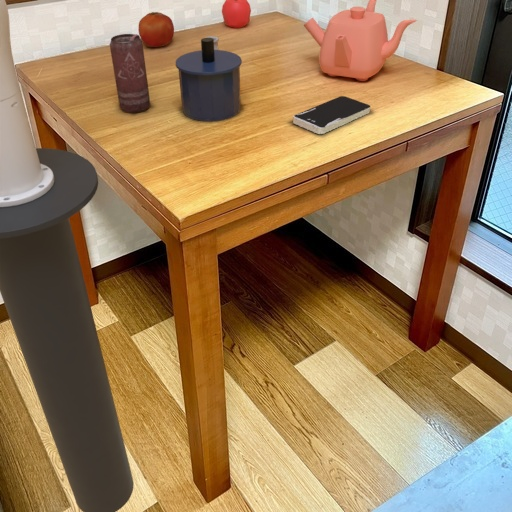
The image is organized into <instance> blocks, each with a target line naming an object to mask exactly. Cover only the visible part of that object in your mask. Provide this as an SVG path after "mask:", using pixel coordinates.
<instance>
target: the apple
mask: <svg viewBox="0 0 512 512" xmlns="http://www.w3.org/2000/svg"><path fill="white" fill-rule="evenodd" d="M251 12H252V8H251V4H250V3H249V1H248V0H225V1H224V2H223V3H222V7H221V14H222V19H223V22H224V24H225V25H227V26H228V27H230V28H232V29H233V28H234V29H241V28H244V27H245V26H246V25H248V23H250V19H251Z"/></svg>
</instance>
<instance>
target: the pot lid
mask: <svg viewBox="0 0 512 512" xmlns="http://www.w3.org/2000/svg"><path fill="white" fill-rule="evenodd" d="M200 47H201V50H194V51H190V52H187V53H183V54H181V55H180V56H178V57H177V59H176V60H175V63H174V64H175V67H176V69H177V70H178V69H179V70H180V71H182V72H185V73H189V74H194V75H217V74H223V73H227V72H231V71H233V70H235V69H237V68H238V67H240V68H241V66H242V62H243V60H242V58H241V56H240V55H238V54H237V53H235V52H232V51H228V50H221V49H218V50H214V39H213V38H205V37H202V38H201V39H200ZM179 70H178V71H179Z"/></svg>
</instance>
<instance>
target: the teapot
mask: <svg viewBox="0 0 512 512" xmlns="http://www.w3.org/2000/svg"><path fill="white" fill-rule="evenodd" d="M376 3H377V0H369V1H368V3H367V5H366V7H363V6H352V7H350V8H349V9H344V10H341V11H339V12H337V13H335V14H334V15H333V16H331V18H330V19H329V21H328V23H327V26H326V29H325V31H324V30H323V29H322V28H321V26H320V25H319V24H318V22H317V21H316V19H315V18H314V17H311V18H310V19H309V20H308V21H307V22H305V23H304V24H303V28H305V30H306V31H307V32H308V33H309V34H310V36H311V37H312V38H313V39H314V41H315V42H316V43H317V44H318V46H319V47H320V50H319V57H318V61H319V66H320V69H321V71H322V72H323V73H325V74H327V75H328V76H329V77H345V78H352V79H353V78H354V79H355V80H357V81H359V82H366V81H368V79H369V78H371V77H372V76H375V75H376V74H378V73H379V72H380V71H381V69H383V66H384V65H385V63H386V61H387V59H389V58H391V57H392V56H393V55H394V54H395V53H396V52H397V50H398V48H399V46H400V43H401V40H402V37H403V35H404V32H405V30H406V29H407V28H408V27H409V26H410V25H412V24H414V23H415V22H417V21H418V20H417V19H404V20H401V21H400V22H399V23H398V24H397V25H396V28H395V29H394V33H393V36H392V37H391V38H390V39H389V38H388V37H389V36H388V35H389V34H388V28H387V22H386V17H385V15H384V14H383V13H379V12H376V11H375V9H376Z"/></svg>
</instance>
